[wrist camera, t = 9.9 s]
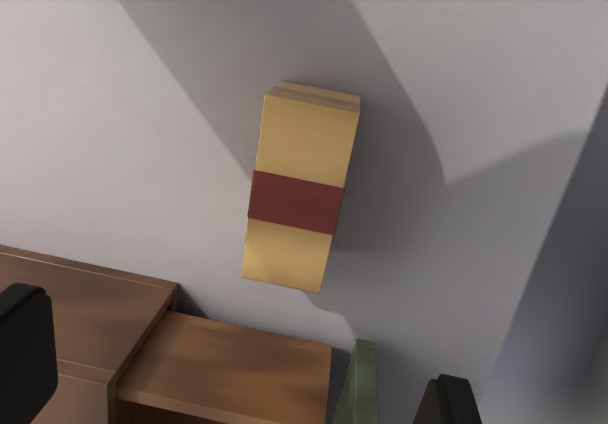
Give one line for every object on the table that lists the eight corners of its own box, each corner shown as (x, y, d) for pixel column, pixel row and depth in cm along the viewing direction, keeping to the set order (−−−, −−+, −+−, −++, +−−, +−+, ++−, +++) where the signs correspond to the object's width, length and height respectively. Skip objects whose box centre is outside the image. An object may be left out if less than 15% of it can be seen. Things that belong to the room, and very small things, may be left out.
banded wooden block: (281, 80, 22) (263, 93, 18) (361, 95, 22) (361, 113, 18) (258, 236, 26) (239, 277, 22) (327, 250, 26) (320, 295, 21)
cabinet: (178, 282, 28) (107, 385, 20) (169, 435, 34) (111, 561, 26) (-70, 229, 28) (-234, 309, 21) (-37, 388, 34) (-155, 497, 26)
